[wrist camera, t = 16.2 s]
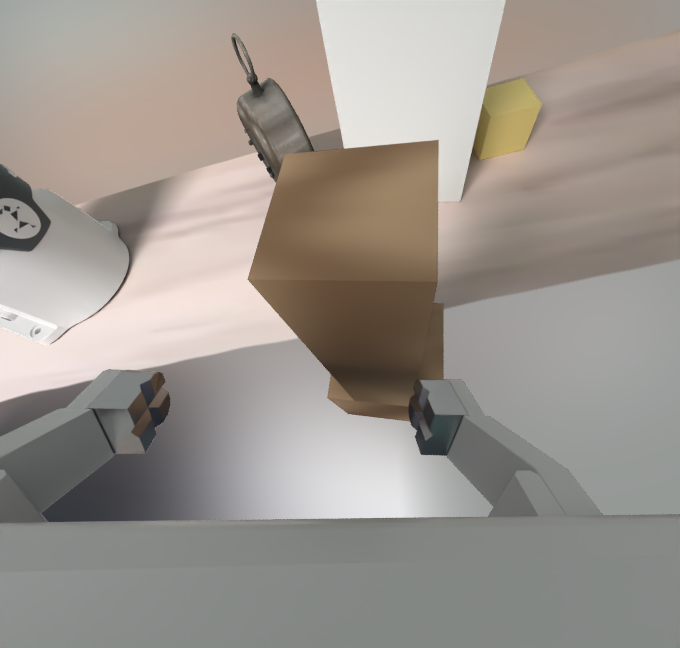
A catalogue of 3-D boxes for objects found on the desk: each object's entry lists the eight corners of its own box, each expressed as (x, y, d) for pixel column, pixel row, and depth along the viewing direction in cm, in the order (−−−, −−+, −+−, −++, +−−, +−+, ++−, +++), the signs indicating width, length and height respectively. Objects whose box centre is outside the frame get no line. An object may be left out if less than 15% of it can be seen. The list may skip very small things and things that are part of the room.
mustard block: (479, 160, 35) (490, 117, 30) (467, 134, 37) (476, 90, 32) (523, 150, 34) (542, 104, 30) (508, 124, 36) (523, 77, 32)
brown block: (171, 278, 6) (255, 78, 9) (348, 414, 26) (357, 339, 28) (558, 283, 4) (514, 36, 7) (431, 423, 24) (432, 344, 27)
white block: (355, 205, 36) (264, -269, 12) (366, 139, 40) (315, -298, 17) (460, 201, 33) (601, -424, 9) (459, 130, 37) (552, -409, 14)
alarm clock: (334, 208, 36) (288, 41, 22) (296, 229, 36) (223, 75, 21) (298, 162, 41) (241, 0, 26) (265, 180, 41) (188, 28, 26)
